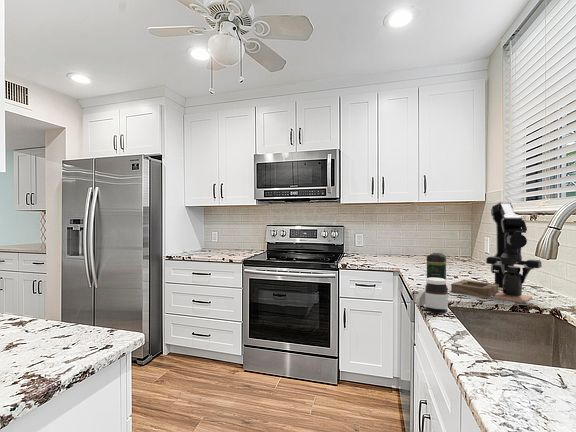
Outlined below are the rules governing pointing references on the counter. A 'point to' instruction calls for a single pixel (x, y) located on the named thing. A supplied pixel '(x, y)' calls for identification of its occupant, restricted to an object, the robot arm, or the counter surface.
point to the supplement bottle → (512, 281)
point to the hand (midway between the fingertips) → (513, 282)
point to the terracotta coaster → (513, 297)
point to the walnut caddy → (475, 288)
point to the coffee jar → (436, 266)
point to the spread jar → (434, 295)
